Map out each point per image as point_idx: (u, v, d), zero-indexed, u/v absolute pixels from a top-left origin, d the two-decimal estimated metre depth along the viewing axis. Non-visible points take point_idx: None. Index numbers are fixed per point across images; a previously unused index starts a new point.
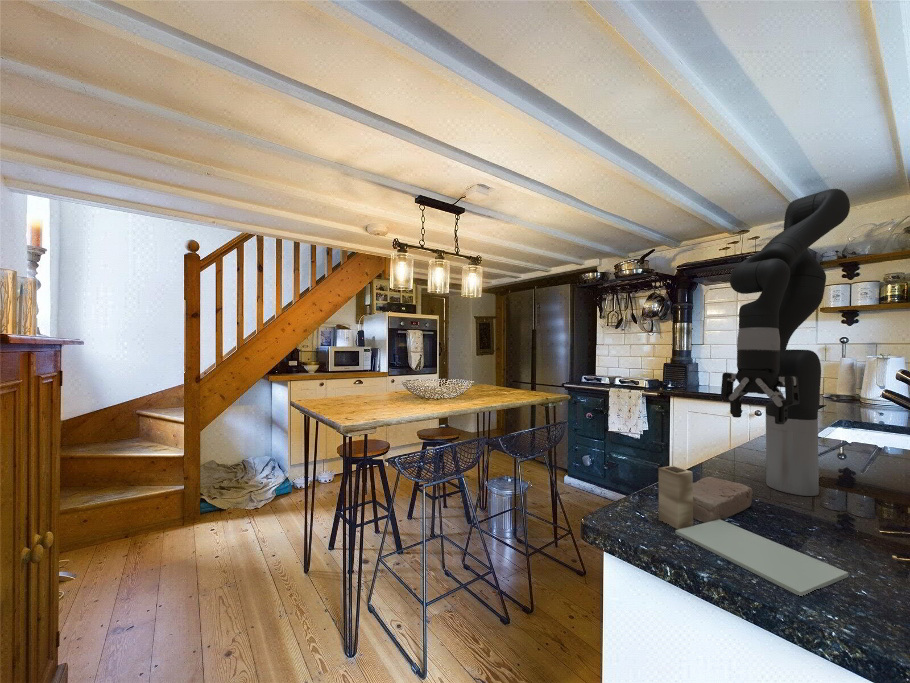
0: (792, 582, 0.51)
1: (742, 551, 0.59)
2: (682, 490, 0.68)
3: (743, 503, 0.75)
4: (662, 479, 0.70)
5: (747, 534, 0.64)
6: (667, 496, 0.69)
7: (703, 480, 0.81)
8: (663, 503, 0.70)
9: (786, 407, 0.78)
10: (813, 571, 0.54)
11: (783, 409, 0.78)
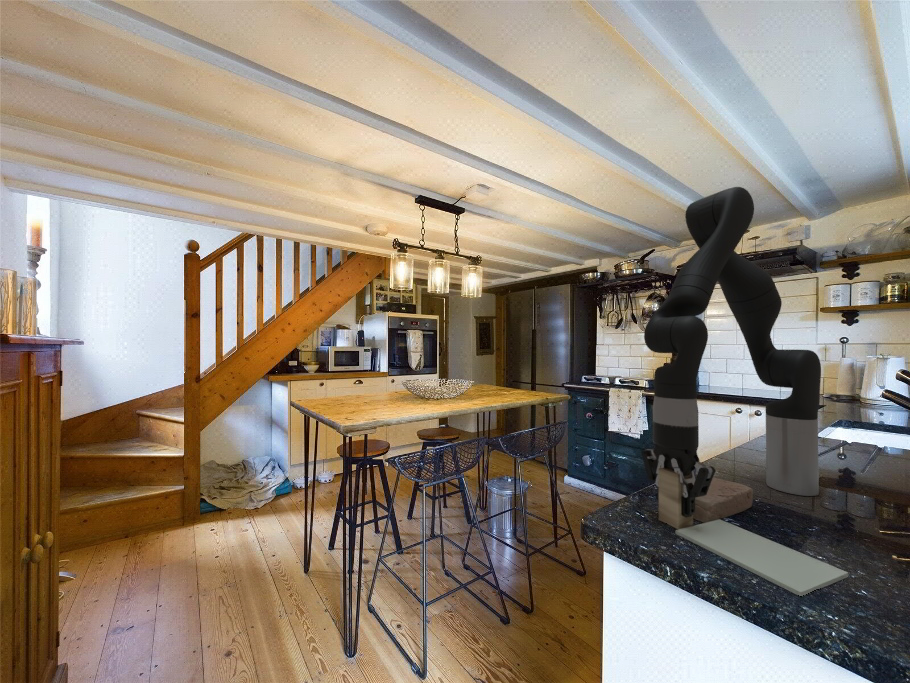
0: (792, 582, 0.51)
1: (742, 551, 0.59)
2: None
3: (743, 503, 0.75)
4: (662, 479, 0.70)
5: (747, 534, 0.64)
6: (667, 496, 0.69)
7: None
8: (663, 503, 0.70)
9: (693, 498, 0.67)
10: (813, 571, 0.54)
11: (689, 500, 0.67)
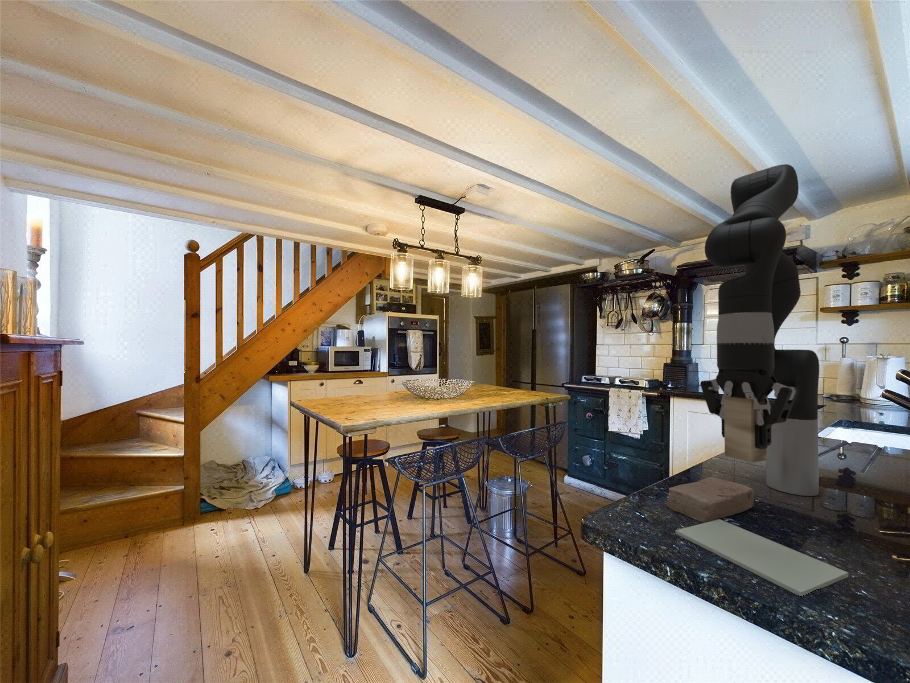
0: (792, 582, 0.51)
1: (742, 551, 0.59)
2: None
3: (744, 503, 0.75)
4: (729, 408, 0.61)
5: (747, 534, 0.64)
6: (736, 427, 0.60)
7: (704, 480, 0.81)
8: (731, 435, 0.61)
9: (769, 426, 0.58)
10: (813, 571, 0.54)
11: (765, 429, 0.58)
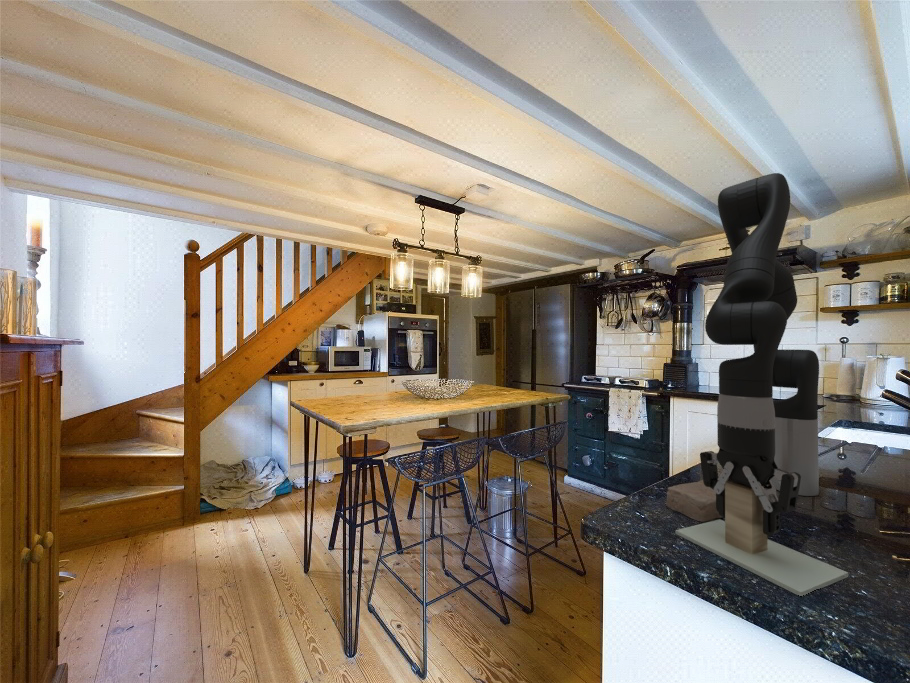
0: (792, 582, 0.51)
1: (742, 551, 0.59)
2: (756, 509, 0.58)
3: None
4: (730, 496, 0.61)
5: None
6: (737, 516, 0.60)
7: None
8: (732, 523, 0.61)
9: (778, 513, 0.57)
10: (813, 571, 0.54)
11: (774, 516, 0.56)
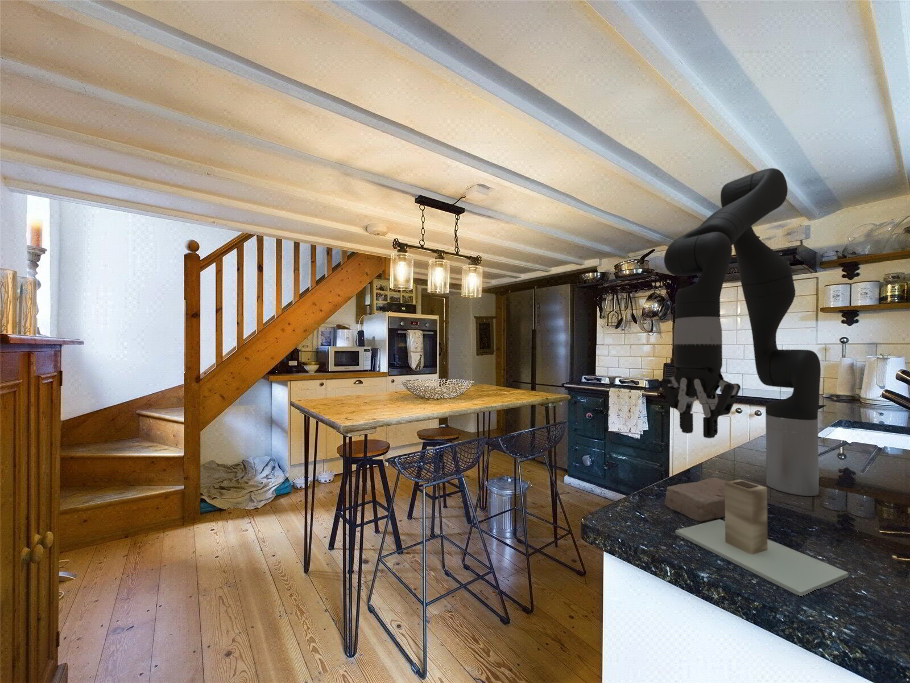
0: (792, 582, 0.51)
1: (742, 551, 0.59)
2: (756, 509, 0.58)
3: None
4: (730, 496, 0.61)
5: None
6: (737, 516, 0.60)
7: (705, 480, 0.81)
8: (732, 523, 0.61)
9: (715, 418, 0.65)
10: (813, 571, 0.54)
11: (712, 420, 0.65)
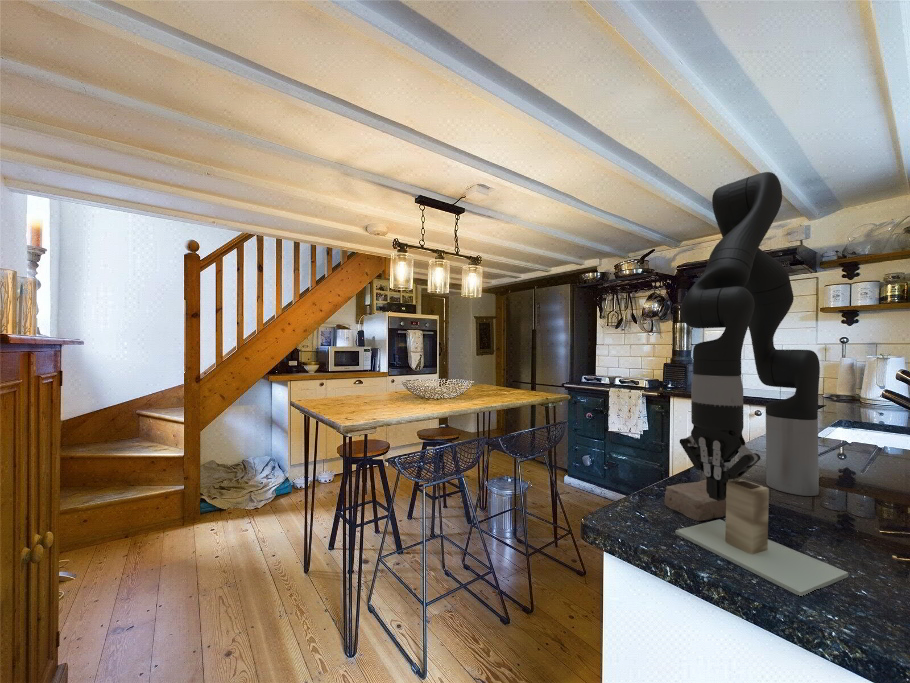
0: (792, 582, 0.51)
1: (742, 551, 0.59)
2: (757, 510, 0.58)
3: None
4: (731, 496, 0.61)
5: None
6: (737, 516, 0.60)
7: None
8: (732, 523, 0.61)
9: (726, 480, 0.63)
10: (813, 571, 0.54)
11: (722, 483, 0.63)
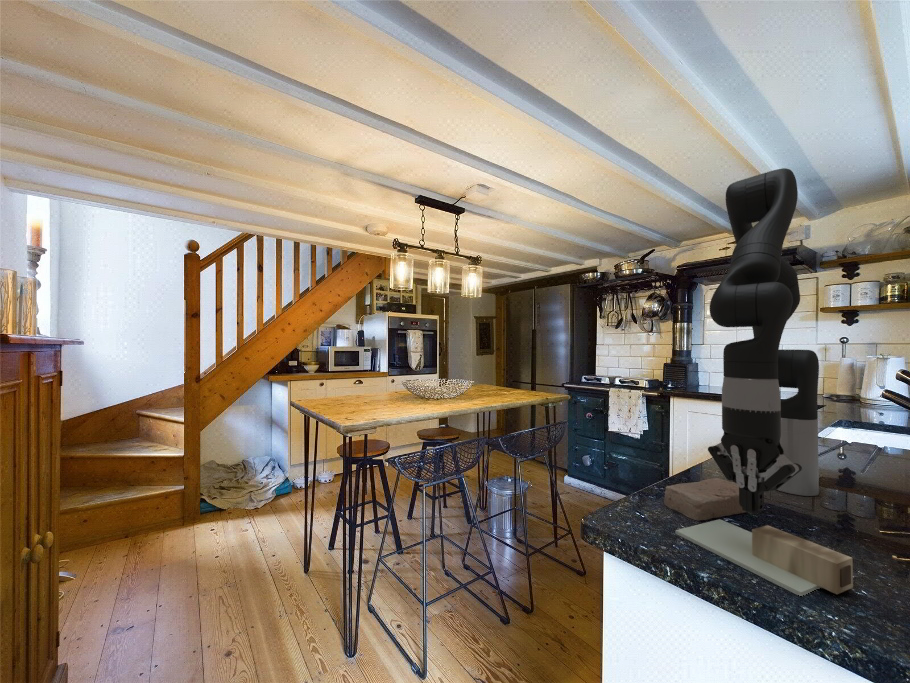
0: (792, 582, 0.51)
1: (742, 551, 0.59)
2: None
3: None
4: (817, 562, 0.50)
5: (747, 534, 0.64)
6: (791, 558, 0.53)
7: (706, 480, 0.81)
8: (779, 547, 0.55)
9: (761, 492, 0.59)
10: None
11: (757, 495, 0.58)
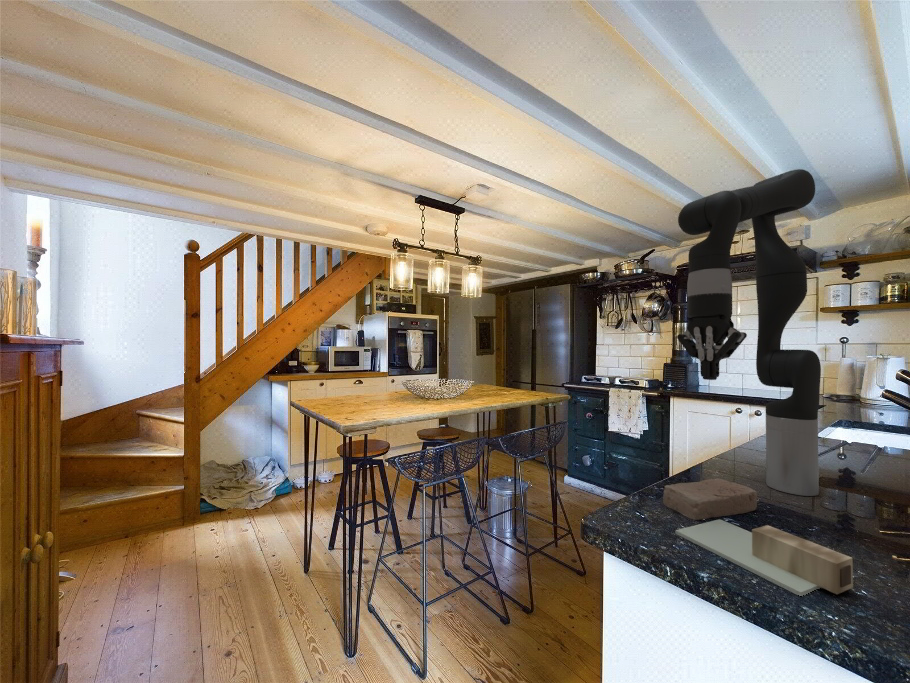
0: (792, 582, 0.51)
1: (742, 551, 0.59)
2: None
3: (744, 505, 0.74)
4: (817, 562, 0.50)
5: (747, 534, 0.64)
6: (791, 558, 0.53)
7: (707, 480, 0.81)
8: (779, 547, 0.55)
9: (717, 361, 0.73)
10: None
11: (714, 363, 0.73)
